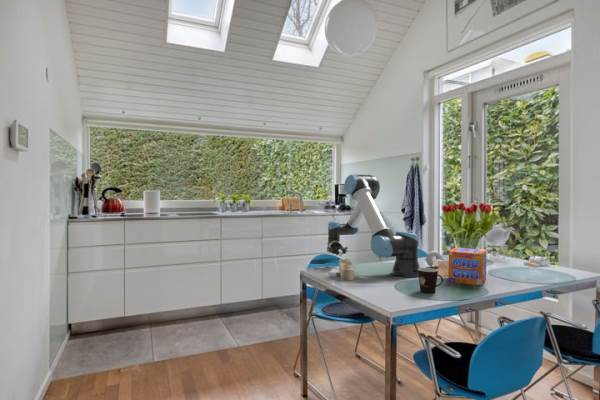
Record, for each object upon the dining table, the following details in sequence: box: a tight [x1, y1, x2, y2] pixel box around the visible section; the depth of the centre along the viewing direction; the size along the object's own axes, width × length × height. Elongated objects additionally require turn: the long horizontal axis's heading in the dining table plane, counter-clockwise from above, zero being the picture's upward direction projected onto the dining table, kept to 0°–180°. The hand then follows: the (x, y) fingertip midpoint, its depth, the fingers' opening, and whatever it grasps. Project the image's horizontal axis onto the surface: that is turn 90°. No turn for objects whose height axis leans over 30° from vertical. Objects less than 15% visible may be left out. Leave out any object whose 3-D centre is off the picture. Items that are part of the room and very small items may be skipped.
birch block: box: [338, 258, 355, 281], centre depth 188 cm, size 6×6×12 cm
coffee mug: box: [418, 267, 444, 295], centre depth 162 cm, size 12×9×10 cm
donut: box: [425, 250, 443, 268], centre depth 218 cm, size 10×4×10 cm, turn 101°
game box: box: [447, 247, 487, 287], centre depth 184 cm, size 16×16×16 cm
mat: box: [327, 271, 363, 280], centre depth 193 cm, size 16×16×2 cm
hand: (341, 253), depth 205 cm, fingers closed
